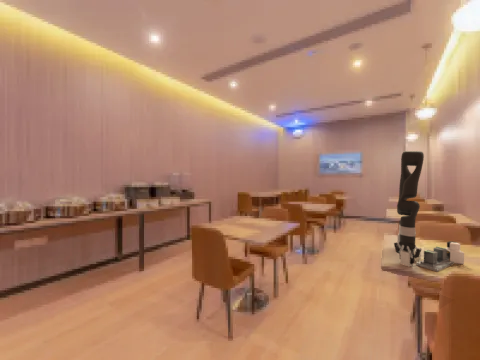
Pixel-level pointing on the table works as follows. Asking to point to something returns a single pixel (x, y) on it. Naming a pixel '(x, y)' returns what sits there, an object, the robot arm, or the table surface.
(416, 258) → the block
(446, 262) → the board
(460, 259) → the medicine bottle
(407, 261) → the block
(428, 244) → the table surface
